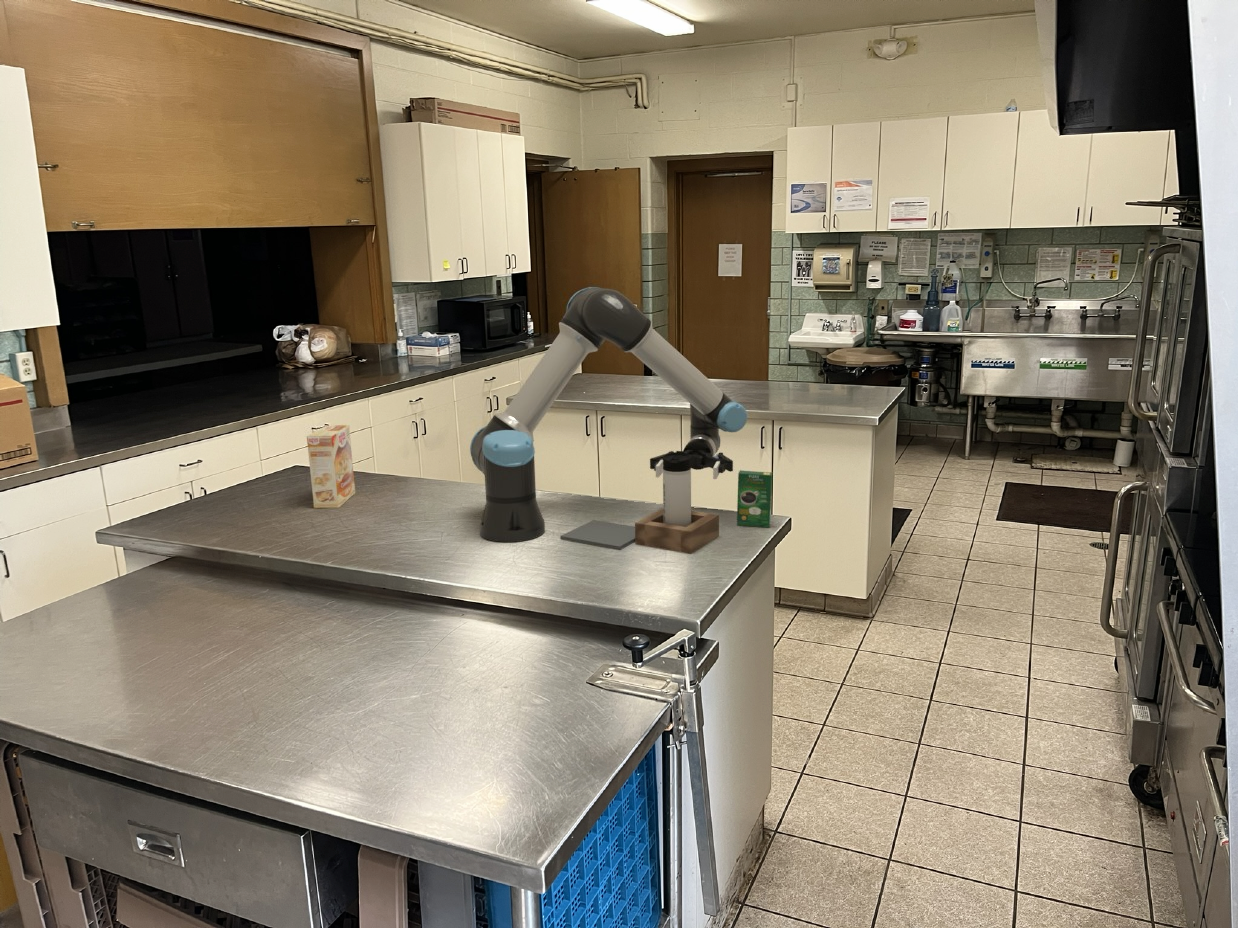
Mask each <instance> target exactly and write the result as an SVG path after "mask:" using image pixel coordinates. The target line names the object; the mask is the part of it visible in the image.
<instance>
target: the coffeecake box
mask: <svg viewBox="0 0 1238 928" xmlns="http://www.w3.org/2000/svg"><path fill="white" fill-rule="evenodd" d="M350 430H351V429H350V425H346V424H345V425H343V424H341V425H324V426H323V427H321V428H319V429H318V430H316V431H314V432H312V433H310V434H309V435H307V436H306V442H307V454H308V462H309V471H310V472H309V473H310V481H311V490H312V499H313V500H312V501H313V508H314V509H319V508H320V509H338V508H341V507H342V505H344V504H345V503H346V502H347V501H348V500H349V499H350V498H351V497H353V496H354V495H355V494H356V487H355V486H356V485H355V477H354V476H355V475H354V465H353V455H352V443H351V442H352V441H351V434H350V433H351V432H350Z"/></svg>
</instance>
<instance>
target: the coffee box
mask: <svg viewBox="0 0 1238 928" xmlns="http://www.w3.org/2000/svg"><path fill="white" fill-rule="evenodd" d="M737 475H738V476H737V477H738V478H737V501H736V502H737V504H736V508H737V510H736V511H737V512H736V526H743V527H759V528H771V518H772V517H771V515H772V514H771V513H772V496H773V495H772V493H773V492H772V491H773V472H768V471H767V472H766V471H753V470H741V469H740V470H739V471H738V474H737Z"/></svg>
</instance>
